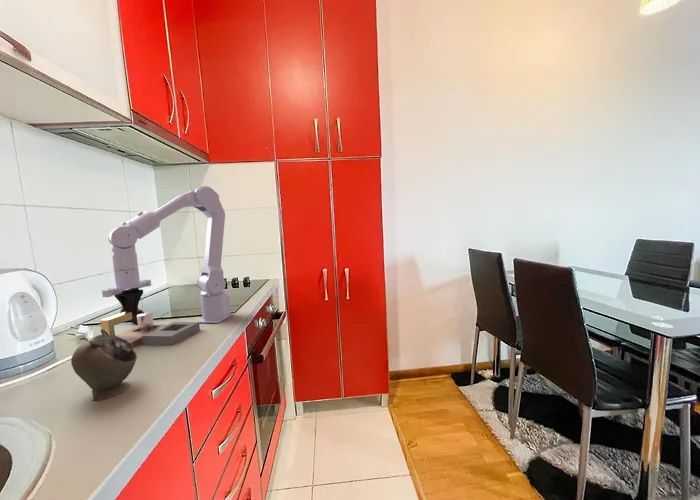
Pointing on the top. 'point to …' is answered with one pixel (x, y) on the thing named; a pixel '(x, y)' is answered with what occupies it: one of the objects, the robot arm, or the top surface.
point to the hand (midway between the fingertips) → (131, 315)
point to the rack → (171, 333)
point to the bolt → (133, 316)
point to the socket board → (135, 335)
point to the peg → (145, 322)
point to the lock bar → (114, 321)
